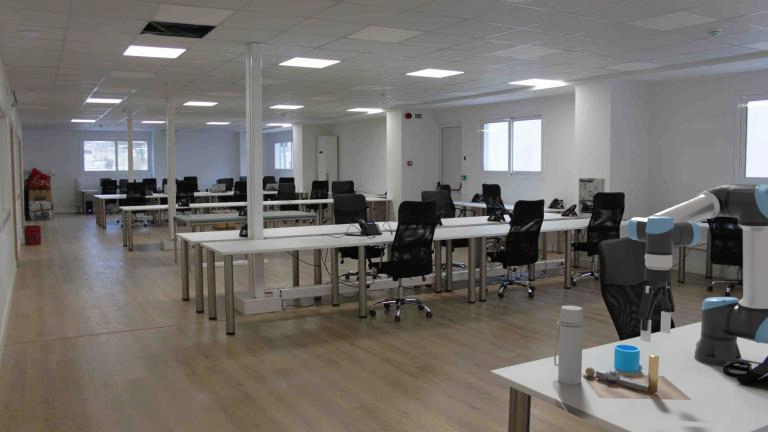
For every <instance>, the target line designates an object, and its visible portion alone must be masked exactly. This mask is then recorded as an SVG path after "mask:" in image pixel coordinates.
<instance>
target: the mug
mask: <svg viewBox="0 0 768 432" xmlns="http://www.w3.org/2000/svg"><path fill="white" fill-rule="evenodd" d="M640 353H641V348H640V347H638V346H635V345H631V344H616V345H614V354H613V356H614V357H613V359H614V360H613V367H614V368H615V369H616V370H619V371H622V372H637V371H639V370H640V360H641V359H640V357H641V354H640Z"/></svg>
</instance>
